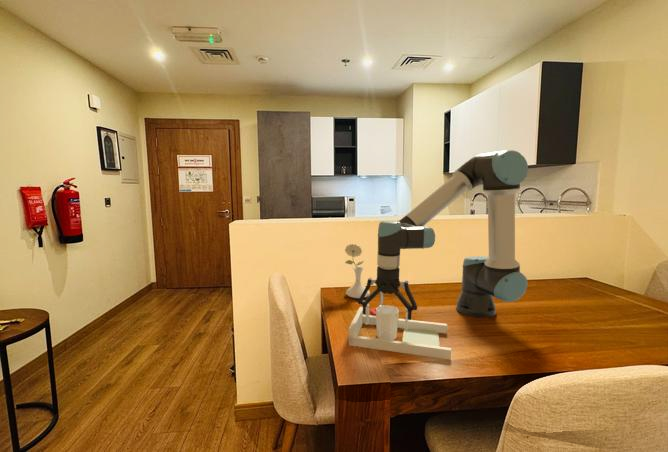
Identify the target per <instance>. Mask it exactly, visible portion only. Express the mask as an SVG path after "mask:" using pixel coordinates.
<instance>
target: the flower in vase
mask: <svg viewBox="0 0 668 452" xmlns="http://www.w3.org/2000/svg"><path fill="white" fill-rule="evenodd" d="M344 252H345V254H346V255H347V256H350V257H352V258H356V257H358V256H359V257H360V256H361V254H362V253H363V250H362V248H361V247H360V245H358V244H353V243H352V244H347V245H346V246H345V249H344ZM344 263H345V264H348V265H353V264H354V266H353V267H352V269H353V270H354V274H355V283H353V285H351V286H350V287H349V288H348V289H346V291H345V294H346V295H347V297H350V298H352V299H360V297H361V295H362V293H363V291H364V290H365V288H366V286H365V285H364V284H362V282H361V279H362V278H361V276H362V273H363V270H364V267H363V266H360V265H362V264H363V263H364V260H362V261H359V262H357V263H355V261H354V260H350V259H347V260H346V261H345V262H344ZM370 295H371V291H370V289H369V290H368V291H367V293H366V295H365V297H364V298H365V299H366V298H368V297H369V296H370Z"/></svg>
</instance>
